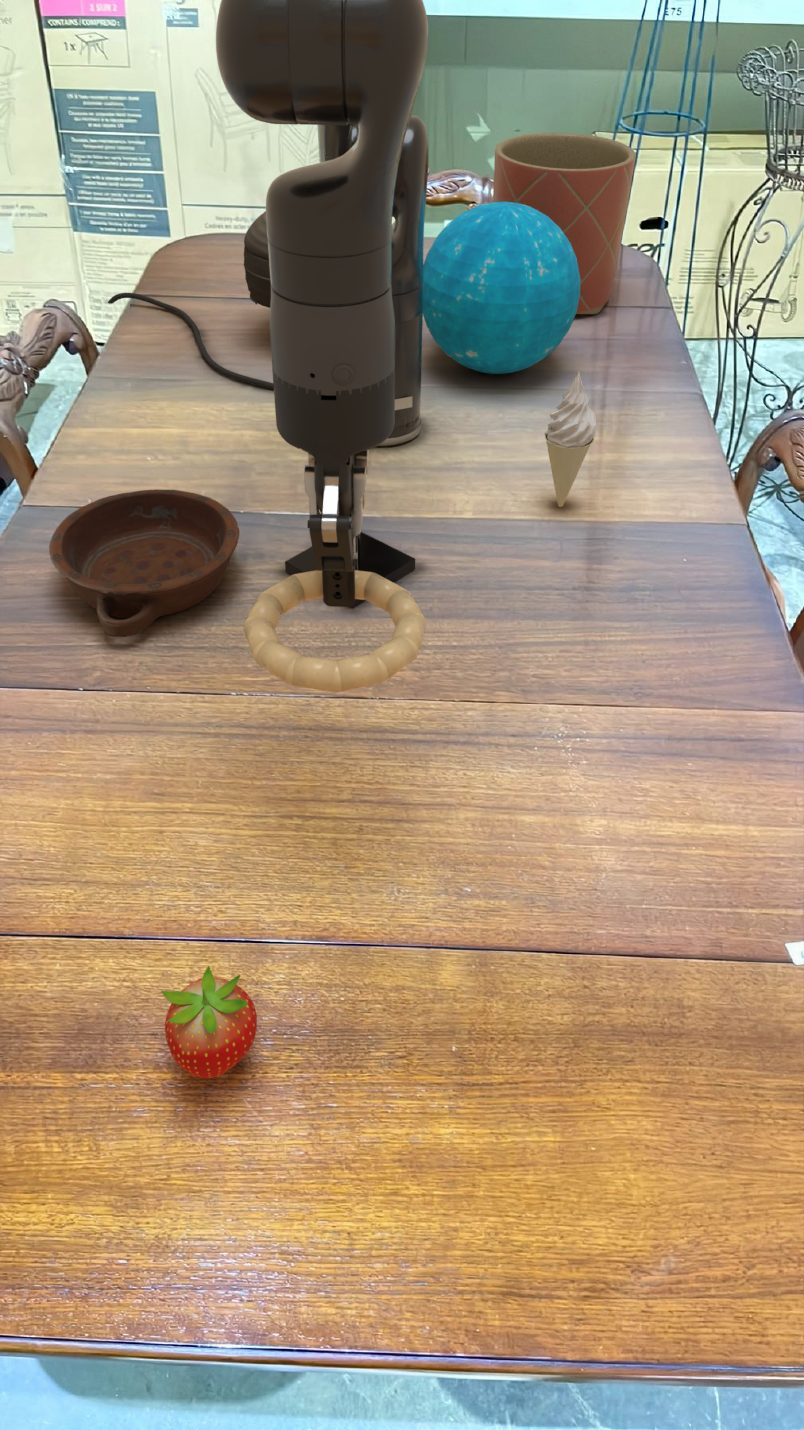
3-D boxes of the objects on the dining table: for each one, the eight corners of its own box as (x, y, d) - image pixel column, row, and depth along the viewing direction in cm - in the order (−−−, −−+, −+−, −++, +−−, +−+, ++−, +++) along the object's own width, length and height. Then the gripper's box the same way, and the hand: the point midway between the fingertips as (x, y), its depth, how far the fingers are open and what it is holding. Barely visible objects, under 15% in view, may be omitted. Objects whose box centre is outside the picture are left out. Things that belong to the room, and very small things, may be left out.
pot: (410, 323, 150) (401, 170, 136) (337, 379, 140) (319, 221, 126) (306, 299, 158) (288, 152, 143) (230, 351, 147) (202, 199, 133)
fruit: (197, 1017, 68) (181, 939, 62) (274, 1038, 67) (264, 961, 61) (158, 1092, 64) (138, 1016, 59) (239, 1117, 63) (226, 1041, 58)
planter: (623, 324, 153) (646, 171, 139) (488, 321, 153) (498, 168, 140) (606, 275, 167) (625, 133, 154) (483, 274, 167) (491, 131, 154)
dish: (254, 519, 112) (250, 476, 109) (229, 650, 96) (223, 604, 92) (86, 518, 112) (77, 474, 109) (32, 648, 96) (19, 602, 92)
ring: (210, 641, 73) (207, 618, 72) (333, 566, 80) (332, 543, 79) (338, 723, 68) (337, 699, 66) (458, 634, 74) (460, 611, 73)
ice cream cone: (582, 520, 113) (602, 384, 103) (534, 515, 114) (548, 379, 104) (586, 497, 116) (605, 362, 107) (539, 491, 117) (554, 358, 107)
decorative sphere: (593, 392, 136) (616, 226, 123) (441, 408, 132) (447, 238, 119) (540, 331, 150) (555, 176, 137) (401, 343, 147) (403, 185, 133)
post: (285, 571, 105) (274, 427, 95) (349, 535, 110) (345, 394, 100) (352, 608, 101) (348, 461, 91) (415, 568, 106) (418, 425, 96)
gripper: (285, 313, 71) (299, 538, 83) (256, 409, 61) (277, 650, 72) (399, 316, 71) (397, 540, 82) (389, 412, 60) (388, 654, 72)
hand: (341, 591), depth 77 cm, fingers closed on ring, 2 cm apart
